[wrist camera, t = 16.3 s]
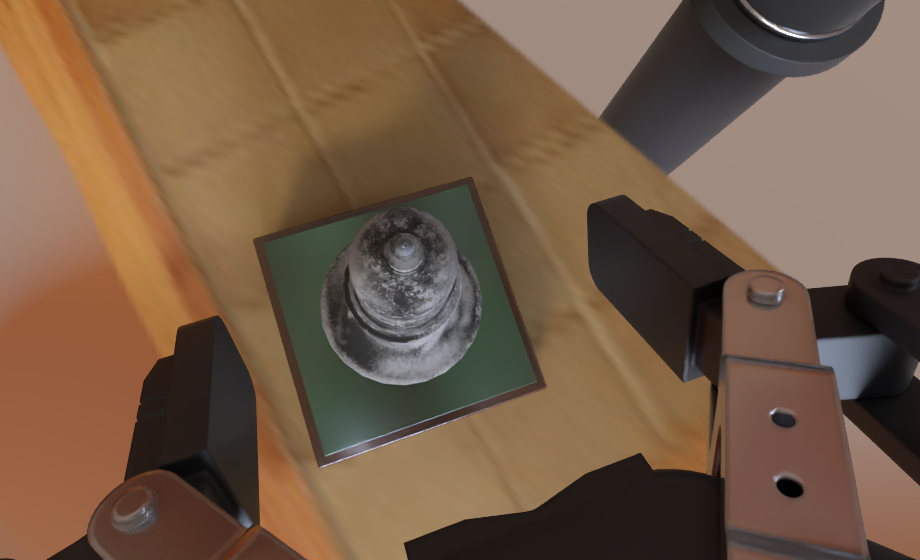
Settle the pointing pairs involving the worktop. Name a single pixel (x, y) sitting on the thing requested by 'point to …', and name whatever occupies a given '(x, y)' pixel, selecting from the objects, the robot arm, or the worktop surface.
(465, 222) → the walnut stand
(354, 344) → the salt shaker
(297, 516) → the worktop surface
